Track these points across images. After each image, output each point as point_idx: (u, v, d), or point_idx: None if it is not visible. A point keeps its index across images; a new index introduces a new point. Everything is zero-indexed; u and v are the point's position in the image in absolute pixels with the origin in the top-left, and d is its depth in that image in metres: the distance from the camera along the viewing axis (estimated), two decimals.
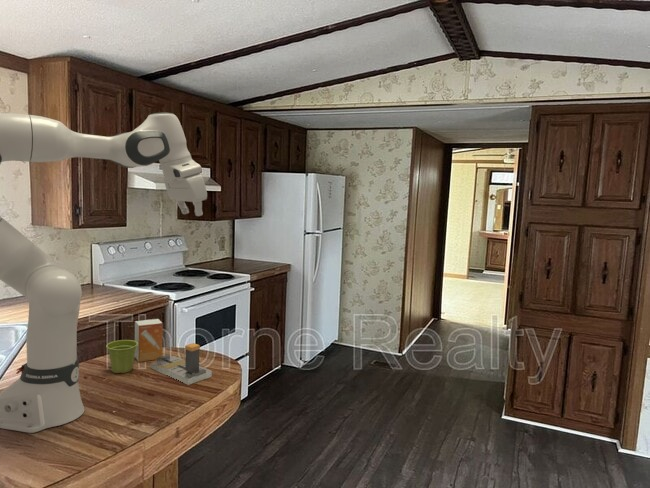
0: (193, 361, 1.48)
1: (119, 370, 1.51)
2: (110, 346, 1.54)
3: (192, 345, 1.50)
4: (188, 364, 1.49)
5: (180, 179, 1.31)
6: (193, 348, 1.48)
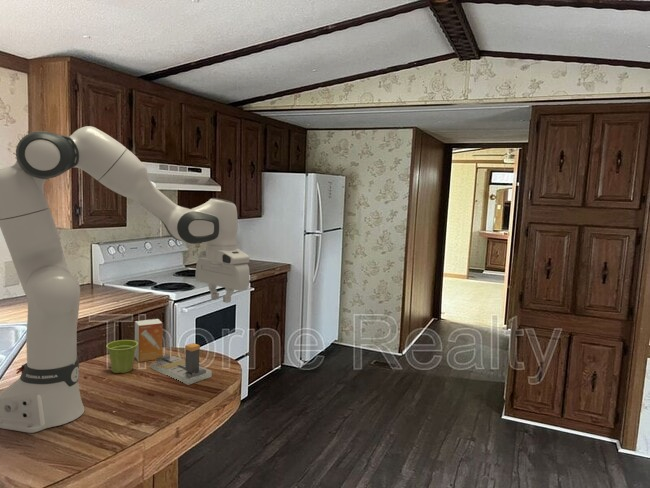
0: (193, 361, 1.48)
1: (119, 370, 1.51)
2: (110, 346, 1.54)
3: (192, 345, 1.50)
4: (188, 364, 1.49)
5: (227, 265, 1.33)
6: (193, 348, 1.48)
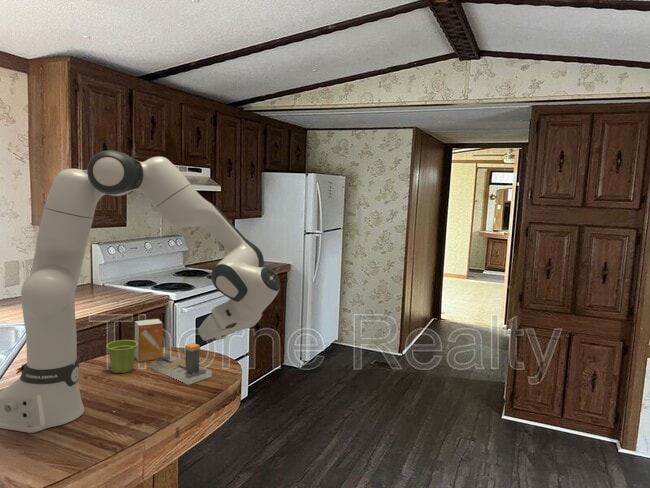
0: (193, 361, 1.48)
1: (119, 370, 1.51)
2: (110, 346, 1.54)
3: (192, 345, 1.50)
4: (188, 364, 1.49)
5: None
6: (193, 348, 1.48)
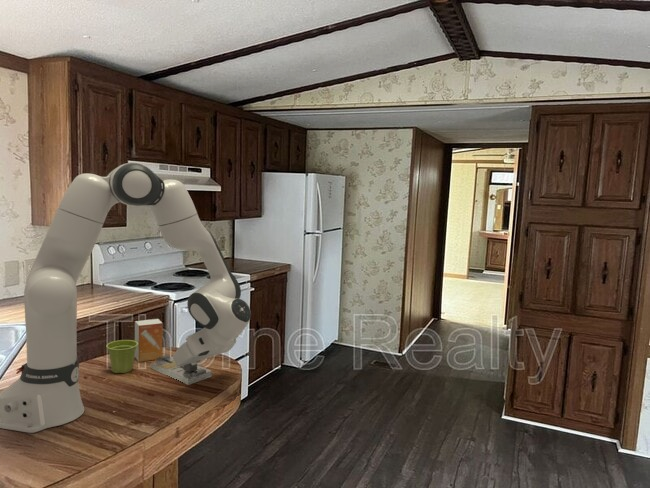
0: None
1: (119, 370, 1.51)
2: (110, 346, 1.54)
3: None
4: None
5: None
6: None
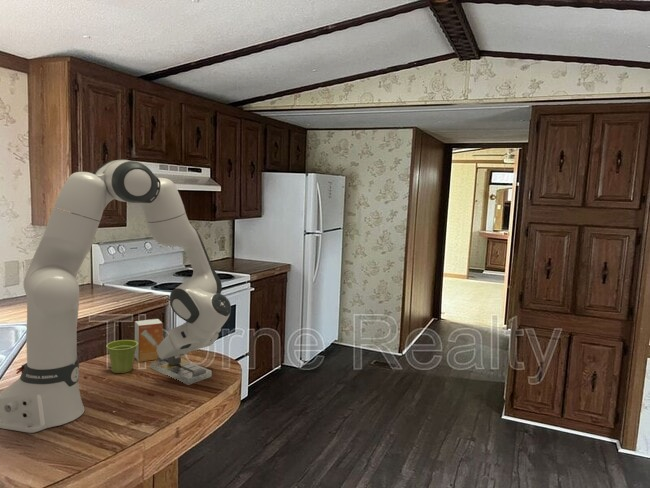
0: None
1: (119, 370, 1.51)
2: (110, 346, 1.54)
3: None
4: (170, 357, 1.54)
5: None
6: None
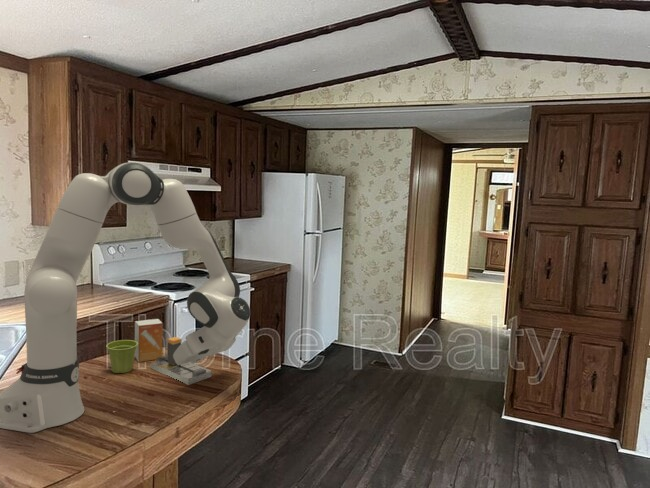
0: None
1: (119, 370, 1.51)
2: (110, 346, 1.54)
3: (174, 338, 1.55)
4: (170, 357, 1.54)
5: None
6: (175, 341, 1.54)
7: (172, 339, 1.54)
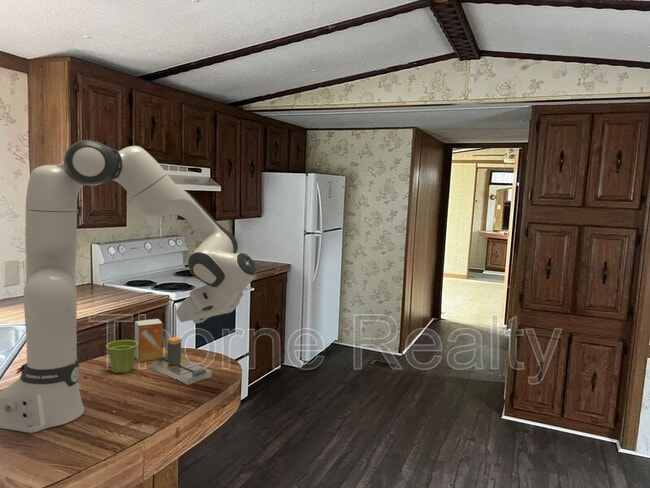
0: (174, 354, 1.54)
1: (119, 370, 1.51)
2: (110, 346, 1.54)
3: (174, 338, 1.55)
4: (170, 357, 1.54)
5: None
6: (175, 341, 1.54)
7: (172, 339, 1.54)
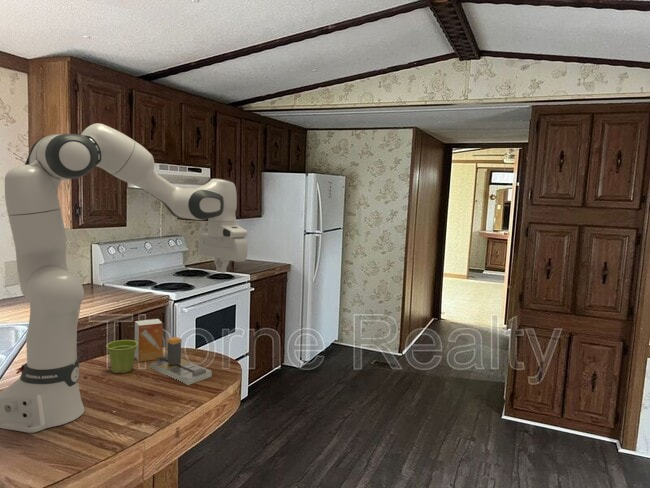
0: (174, 354, 1.54)
1: (119, 370, 1.51)
2: (110, 346, 1.54)
3: (174, 338, 1.55)
4: (170, 357, 1.54)
5: (227, 238, 1.47)
6: (175, 341, 1.54)
7: (172, 339, 1.54)
